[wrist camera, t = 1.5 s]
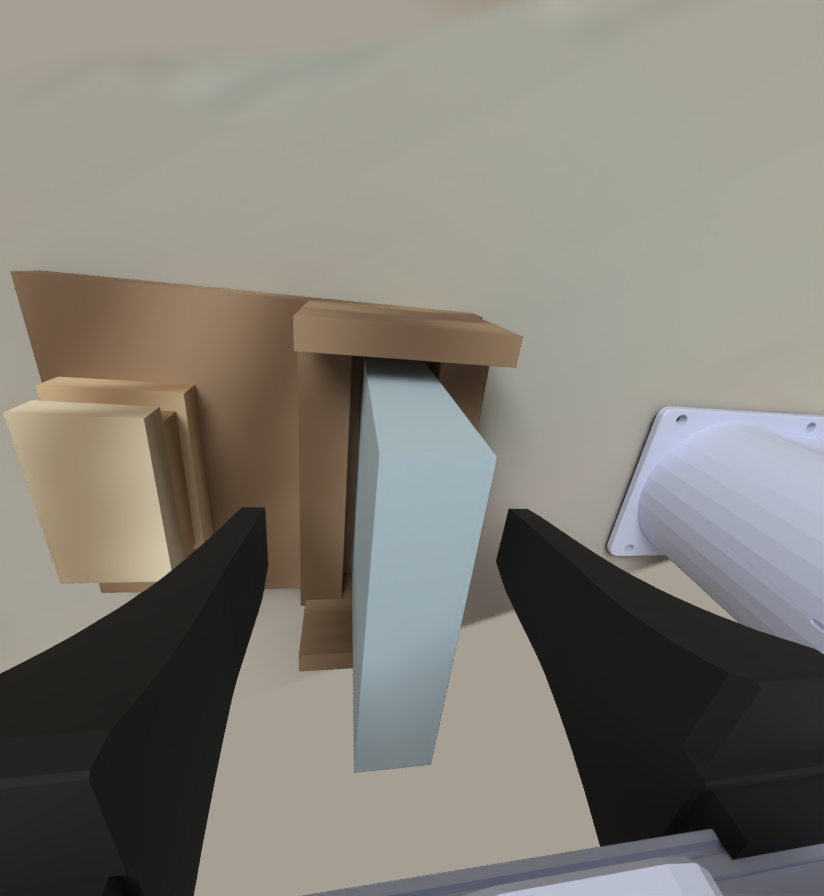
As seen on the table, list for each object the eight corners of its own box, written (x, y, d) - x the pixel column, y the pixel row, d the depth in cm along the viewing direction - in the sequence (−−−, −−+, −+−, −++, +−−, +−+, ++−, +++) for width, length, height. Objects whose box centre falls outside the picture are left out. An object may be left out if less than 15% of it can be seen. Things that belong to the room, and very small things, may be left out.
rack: (472, 313, 15) (530, 337, 10) (431, 566, 20) (457, 661, 15) (40, 270, 12) (-150, 275, 8) (117, 571, 17) (31, 687, 12)
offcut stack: (194, 384, 13) (155, 415, 10) (212, 532, 16) (184, 588, 13) (58, 376, 12) (-22, 408, 10) (99, 532, 15) (44, 591, 12)
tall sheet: (420, 356, 14) (497, 457, 7) (397, 559, 18) (431, 764, 10) (363, 352, 14) (379, 453, 6) (351, 560, 17) (354, 772, 10)
